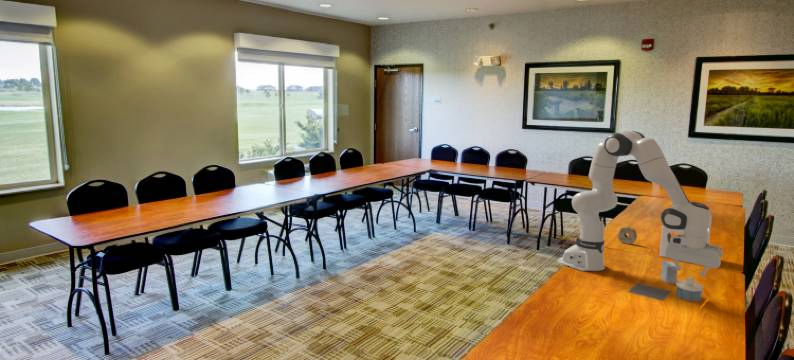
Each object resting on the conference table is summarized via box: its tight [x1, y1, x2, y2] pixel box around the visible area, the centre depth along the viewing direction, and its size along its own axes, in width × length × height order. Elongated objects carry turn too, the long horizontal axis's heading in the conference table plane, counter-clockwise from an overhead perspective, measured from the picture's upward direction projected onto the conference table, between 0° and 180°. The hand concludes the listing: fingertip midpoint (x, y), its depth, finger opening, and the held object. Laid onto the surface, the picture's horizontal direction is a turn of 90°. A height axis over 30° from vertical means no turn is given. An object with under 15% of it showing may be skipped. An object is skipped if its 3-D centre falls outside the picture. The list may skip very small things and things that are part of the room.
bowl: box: [675, 286, 703, 302], centre depth 216 cm, size 9×9×5 cm
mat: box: [627, 283, 672, 301], centre depth 222 cm, size 14×14×1 cm
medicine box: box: [660, 261, 678, 285], centre depth 235 cm, size 8×4×9 cm, turn 168°
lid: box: [675, 276, 704, 292], centre depth 215 cm, size 10×10×4 cm
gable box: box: [659, 204, 713, 258], centre depth 272 cm, size 22×13×28 cm, turn 57°
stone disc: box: [617, 226, 638, 245], centre depth 298 cm, size 10×4×10 cm, turn 41°
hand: (690, 272), depth 215 cm, fingers open, 8 cm apart
